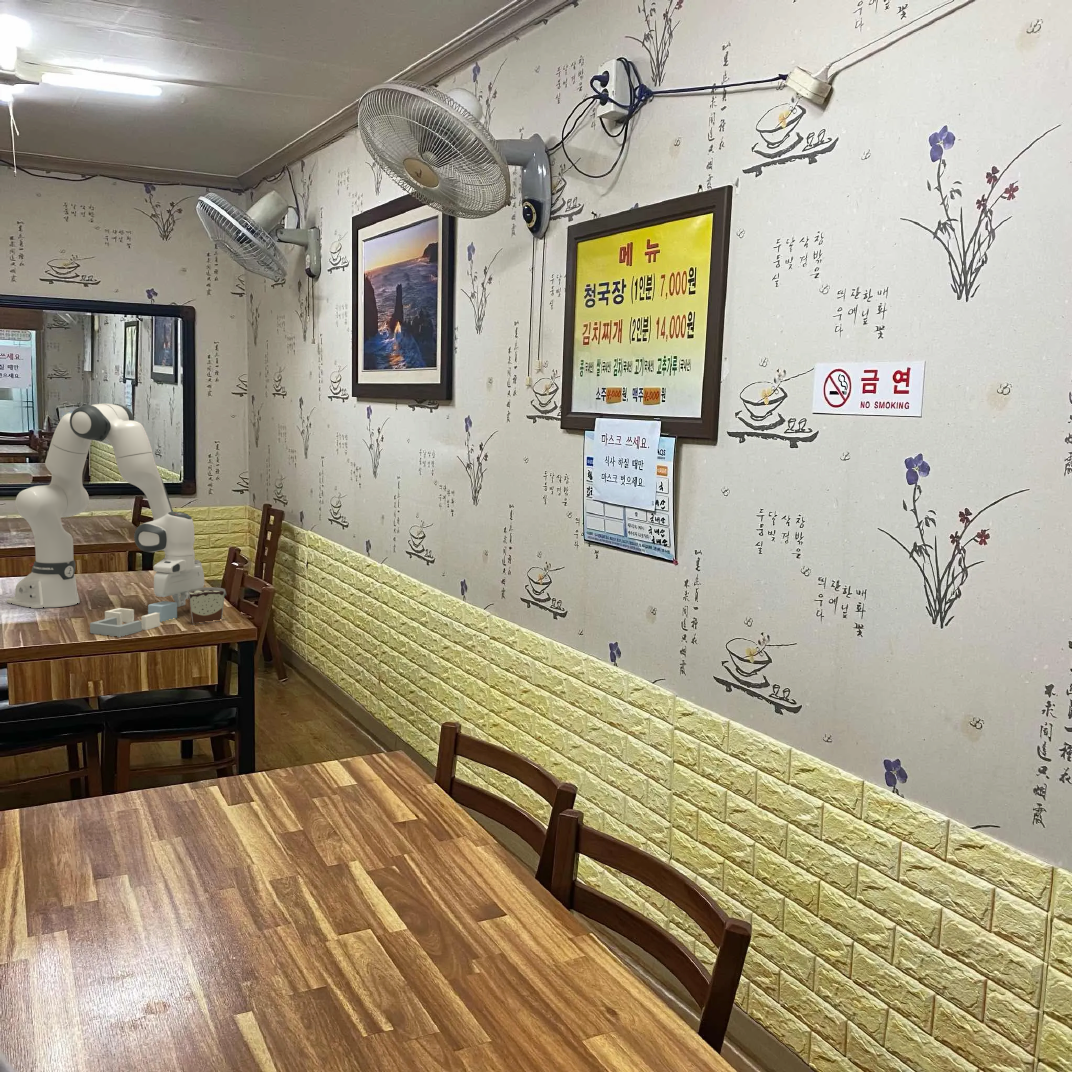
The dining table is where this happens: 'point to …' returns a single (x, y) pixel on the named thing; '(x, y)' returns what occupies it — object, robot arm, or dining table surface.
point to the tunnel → (128, 616)
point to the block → (164, 610)
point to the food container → (206, 604)
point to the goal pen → (115, 627)
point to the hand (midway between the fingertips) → (180, 606)
